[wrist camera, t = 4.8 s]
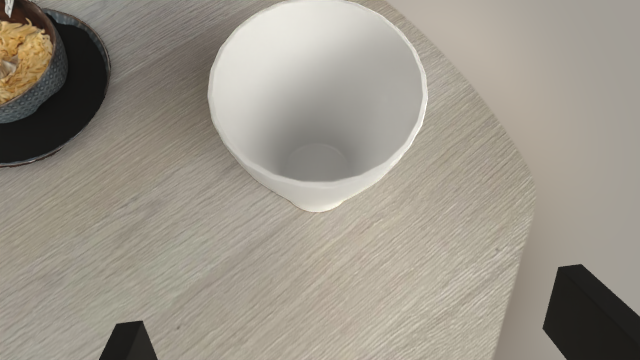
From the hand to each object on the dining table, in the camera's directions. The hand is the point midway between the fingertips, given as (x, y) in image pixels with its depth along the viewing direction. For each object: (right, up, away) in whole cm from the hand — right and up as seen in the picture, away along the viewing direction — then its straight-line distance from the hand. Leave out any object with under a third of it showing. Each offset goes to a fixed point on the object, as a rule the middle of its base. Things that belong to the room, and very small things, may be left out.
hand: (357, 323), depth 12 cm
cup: (-1, +5, +19) cm, 19 cm away
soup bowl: (-26, +13, +21) cm, 36 cm away
